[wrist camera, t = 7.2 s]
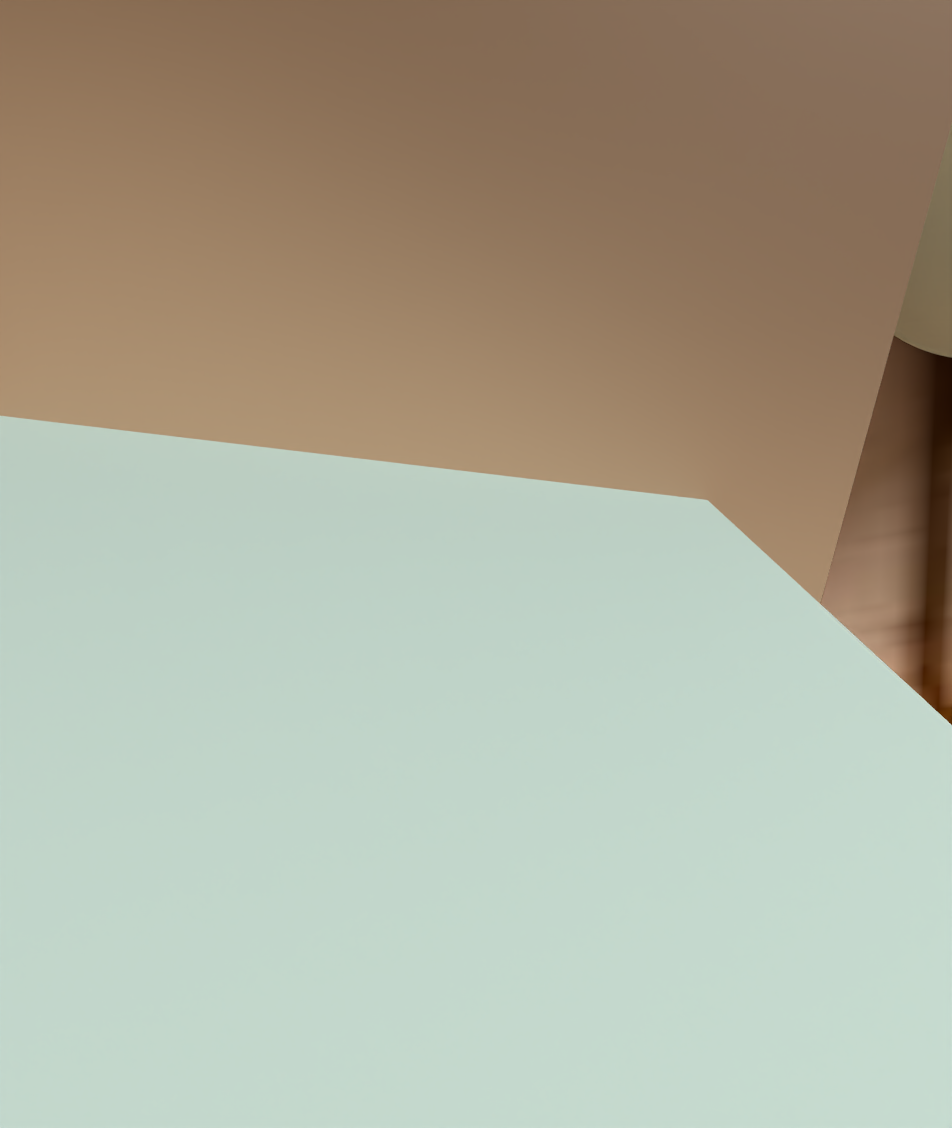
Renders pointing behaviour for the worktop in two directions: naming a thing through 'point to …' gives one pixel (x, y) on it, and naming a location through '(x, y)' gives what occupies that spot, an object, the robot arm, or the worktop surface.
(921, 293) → the can
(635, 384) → the board
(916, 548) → the worktop surface
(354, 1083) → the pale green cube
